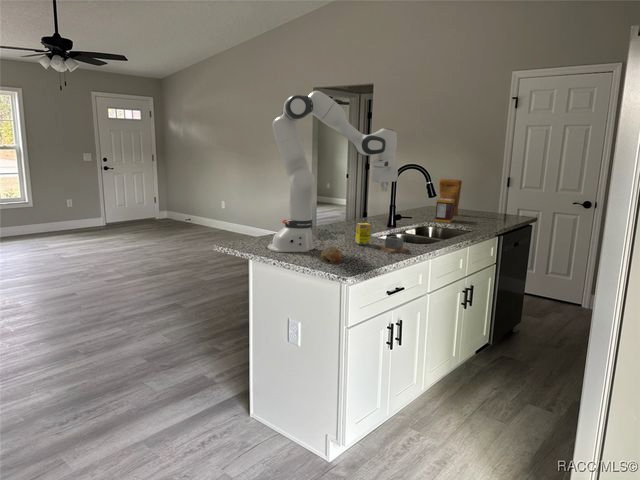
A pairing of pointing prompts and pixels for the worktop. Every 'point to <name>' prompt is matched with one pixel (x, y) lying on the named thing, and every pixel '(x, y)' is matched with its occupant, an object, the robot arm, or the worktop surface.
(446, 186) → the pancake mix bag
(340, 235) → the worktop surface
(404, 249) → the tan flat piece
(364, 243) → the supplement box
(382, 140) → the robot arm
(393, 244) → the grey hollow block
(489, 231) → the worktop surface
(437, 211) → the supplement box
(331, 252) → the bread roll
